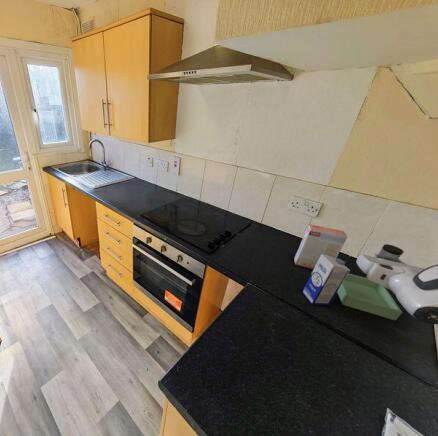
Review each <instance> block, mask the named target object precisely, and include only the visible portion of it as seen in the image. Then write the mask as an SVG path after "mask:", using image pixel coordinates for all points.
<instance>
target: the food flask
mask: <svg viewBox="0 0 438 436" xmlns="http://www.w3.org/2000/svg"><path fill="white" fill-rule="evenodd" d="M404 252H405V251H404V250H403V249H402V248H400V247H398V246H397V245H393V244H387V243H386V244H383V245H382V246H381V249H380V251H379V252H378V253H377V255H379V256H380V257H379V258H381V259H385V260H390V261H394V262H396V261H397V260H398V259H400V257H402V255H403V254H404Z"/></svg>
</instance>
